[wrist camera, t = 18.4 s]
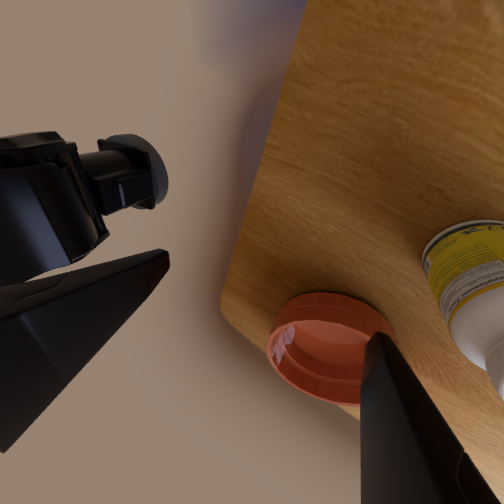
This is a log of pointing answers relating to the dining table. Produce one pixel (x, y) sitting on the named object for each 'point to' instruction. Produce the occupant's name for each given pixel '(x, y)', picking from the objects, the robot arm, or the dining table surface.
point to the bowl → (324, 344)
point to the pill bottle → (471, 290)
